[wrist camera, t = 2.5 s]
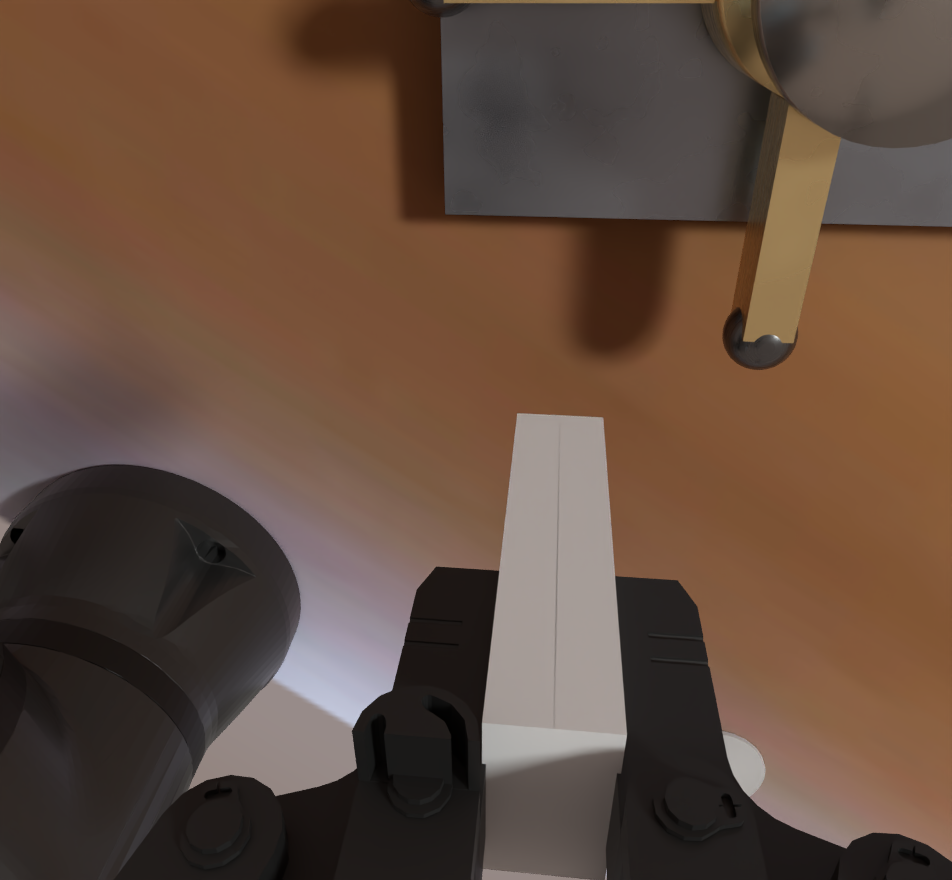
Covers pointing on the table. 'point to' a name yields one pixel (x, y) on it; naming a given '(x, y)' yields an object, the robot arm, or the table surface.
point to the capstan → (811, 126)
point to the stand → (635, 123)
